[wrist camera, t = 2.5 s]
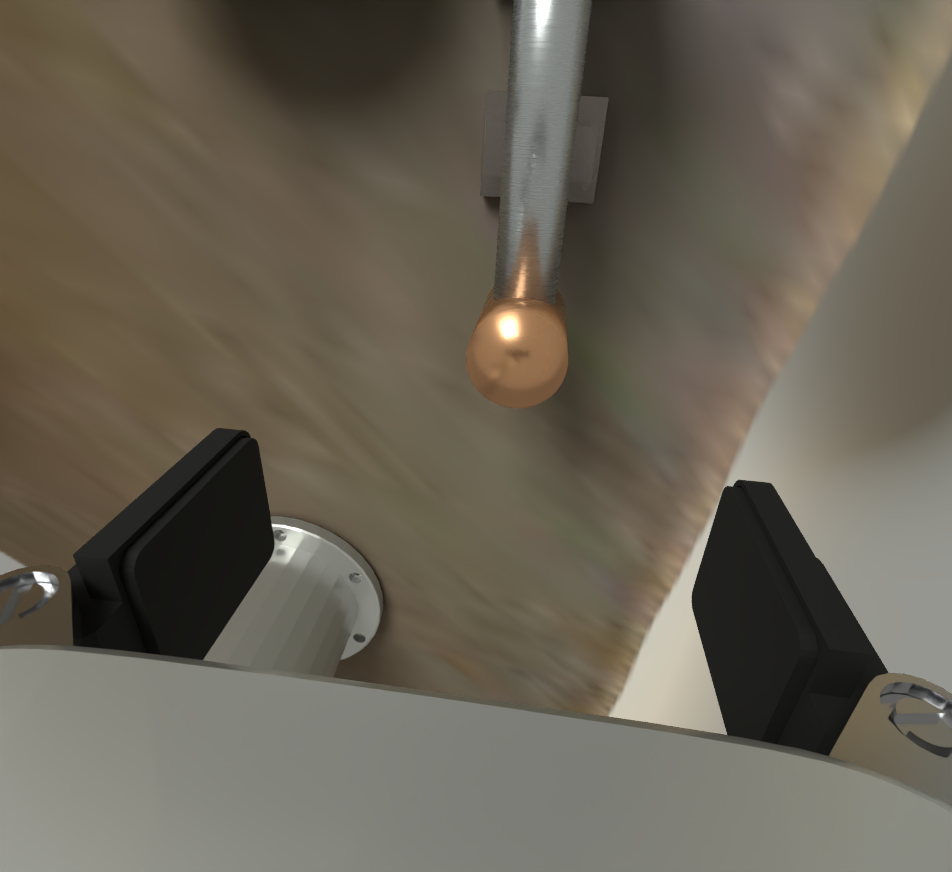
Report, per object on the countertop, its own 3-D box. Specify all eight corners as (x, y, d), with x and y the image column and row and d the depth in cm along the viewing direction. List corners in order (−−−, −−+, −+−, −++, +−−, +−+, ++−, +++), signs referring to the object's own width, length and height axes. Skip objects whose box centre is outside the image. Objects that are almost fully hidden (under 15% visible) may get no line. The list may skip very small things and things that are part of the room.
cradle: (592, 201, 25) (599, 215, 21) (482, 194, 26) (468, 205, 22) (607, 98, 24) (618, 91, 19) (487, 91, 24) (474, 83, 20)
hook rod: (559, 355, 26) (561, 412, 21) (482, 348, 26) (463, 403, 21) (646, -301, 16) (690, -505, 11) (521, -300, 17) (506, -500, 11)
